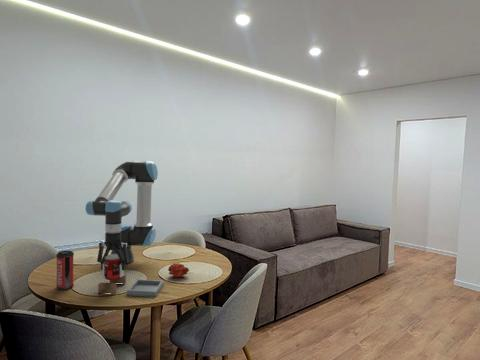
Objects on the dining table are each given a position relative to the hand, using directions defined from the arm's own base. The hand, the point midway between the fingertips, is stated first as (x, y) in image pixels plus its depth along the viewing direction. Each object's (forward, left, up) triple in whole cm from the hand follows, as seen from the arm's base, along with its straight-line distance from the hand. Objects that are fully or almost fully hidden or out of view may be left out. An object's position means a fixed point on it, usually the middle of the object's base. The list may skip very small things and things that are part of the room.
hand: (113, 275), depth 156 cm
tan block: (0, 0, -6) cm, 6 cm away
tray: (+17, 0, -6) cm, 18 cm away
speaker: (-24, -1, -7) cm, 25 cm away
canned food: (0, 0, -1) cm, 1 cm away
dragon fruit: (+29, +20, -7) cm, 36 cm away
